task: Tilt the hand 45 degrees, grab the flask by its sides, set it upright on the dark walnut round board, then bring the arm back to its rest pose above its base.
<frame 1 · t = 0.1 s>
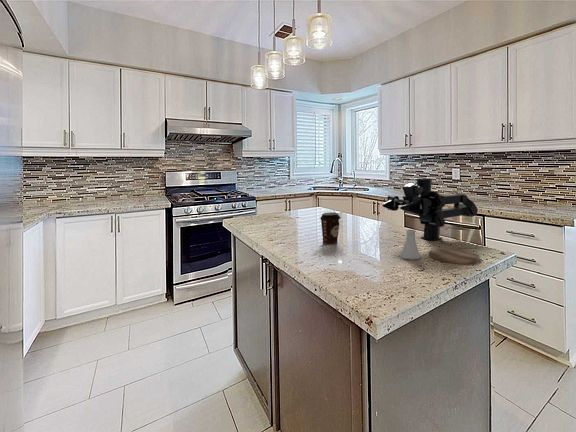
hand: (391, 206, 125), 17 cm above the countertop, tool horizontal, fingers open, 9 cm apart
flask: (409, 257, 114), on the countertop
coffee cup: (330, 243, 136), on the countertop
walnut board: (453, 257, 113), on the countertop
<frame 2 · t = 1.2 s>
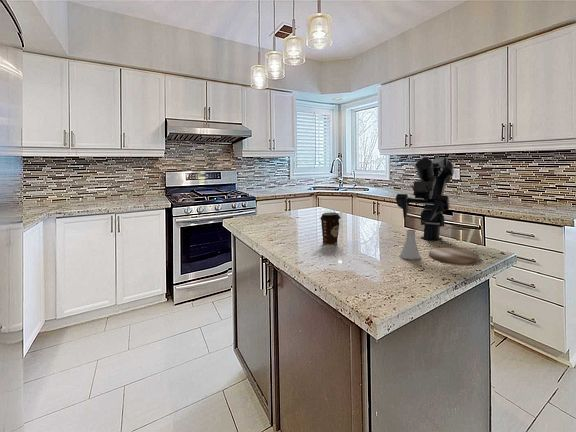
hand: (416, 219, 117), 13 cm above the countertop, tool tilted 45°, fingers open, 9 cm apart
nothing on the countertop moved.
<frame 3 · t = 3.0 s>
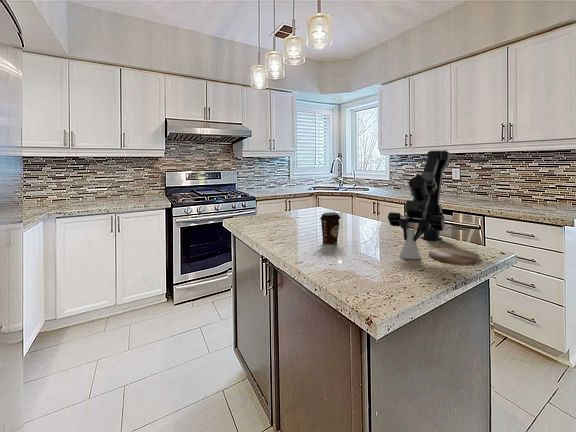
hand: (409, 240, 111), 7 cm above the countertop, tool tilted 45°, fingers closed on flask, 3 cm apart
flask: (409, 257, 114), on the countertop, touching gripper
everything else where it was.
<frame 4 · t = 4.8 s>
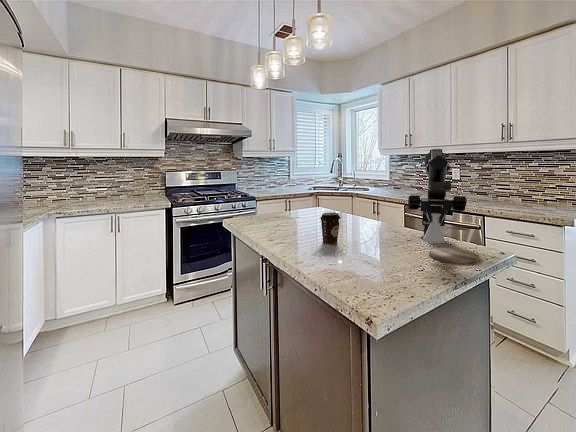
hand: (435, 222, 109), 13 cm above the countertop, tool tilted 45°, fingers closed on flask, 3 cm apart
flask: (433, 242, 111), point 6 cm above the countertop, touching gripper
everything else where it was.
when the fingers open (9 cm above the countertop, at t = 6.5 s): flask stays where it is, resting on walnut board.
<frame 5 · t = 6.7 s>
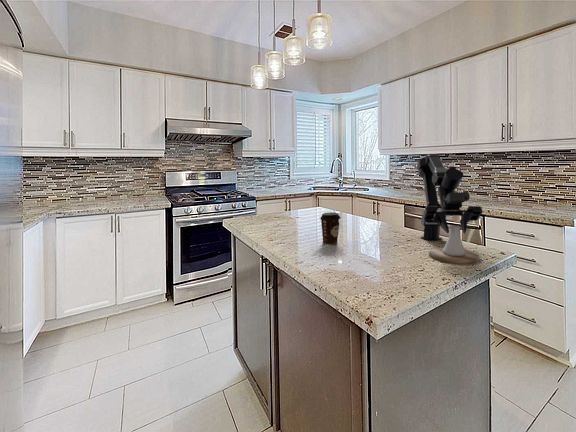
hand: (456, 232, 110), 9 cm above the countertop, tool tilted 45°, fingers open, 5 cm apart
flask: (453, 254, 112), point 1 cm above the countertop, touching walnut board
everything else where it was.
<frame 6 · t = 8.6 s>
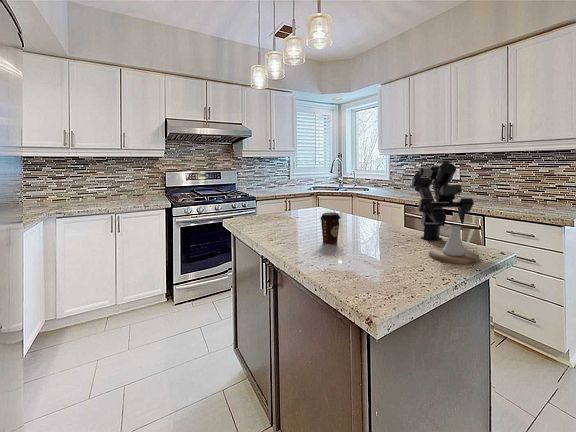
hand: (449, 223, 117), 11 cm above the countertop, tool tilted 45°, fingers open, 9 cm apart
nothing on the countertop moved.
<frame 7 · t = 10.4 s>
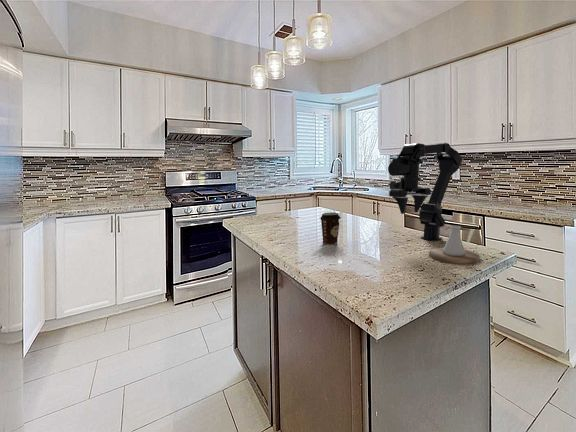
hand: (409, 212, 131), 13 cm above the countertop, tool pointing down, fingers open, 8 cm apart
nothing on the countertop moved.
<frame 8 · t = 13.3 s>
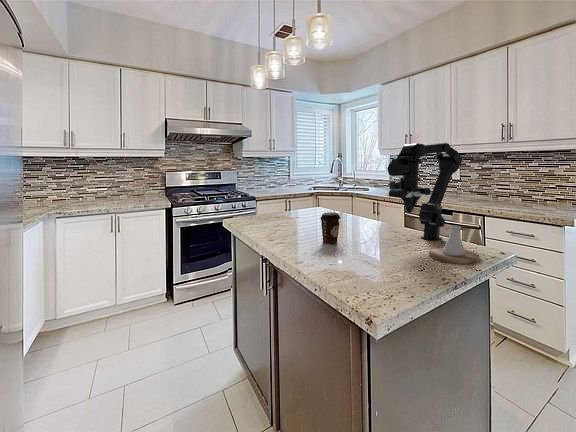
hand: (409, 213, 131), 13 cm above the countertop, tool pointing down, fingers closed
nothing on the countertop moved.
at the end: flask inside the target area on the walnut board (0.1 cm from its centre), point 1.0 cm above the walnut board's base; flask tilted 0°; the gripper is holding nothing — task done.
